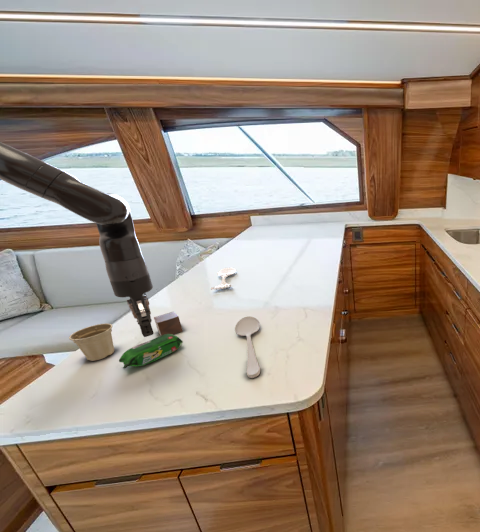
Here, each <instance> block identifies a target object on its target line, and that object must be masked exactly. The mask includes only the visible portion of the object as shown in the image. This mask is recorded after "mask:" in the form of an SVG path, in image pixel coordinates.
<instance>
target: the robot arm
mask: <svg viewBox="0 0 480 532" xmlns="http://www.w3.org/2000/svg"><path fill="white" fill-rule="evenodd" d="M0 180H1V181H3V182H5V183H7V184H8V185H11V186H13V187H16V188H18V189H20V190H23V191H25V192H27V193H30V194H32V195H35V196H36V197H39V198H41V199H43V200H47V201H49V202H52V203H55V204H57V205H59V206H60V207H62V208H64V209H66V210H68V211H70V212H71V213H74V214H75V215H77V216H79V217H81V218H83V219H85V220H88V221H90V222H92V223H95V225H96V228H97V231H98V234H99V240H98V244H99V248H100V251H101V255H102V258H103V260H104V264H105V271H106V274H107V276H108V280H109V282H110V286H111V289H112V291H113V294H114V296H115V297H117V298H129V299H126V303H127V306H128V308H129V310H130V311H131V314H132V316H133V318H134V319H135V320H136V323H137V325H138V326H139V328H140V331H141V335H142V336H143V337H144V338H147V337H151V336H153V335H154V330H153V326H152V321H153V320H152V317H151V315H152V312H151V309H150V301H149V298H148V297H147V295H144V294H145V293H149V292H151V290H153V289H154V286H153V282H152V279H151V275H150V273H149V269H148V265H147V262H146V261H145V258H144V256H143V253H142V250H141V246H140V244H139V240H138V239H137V236H136V231H135V225H134V219H133V216H132V212H131V208H130V205H129V203H128V202H127V201H126V200H125V199H124V198H123V197H122V196H120V195H118V194H114V193H109V192H108V193H107V192H103V191H101V190H99V189H97V188H96V187H93V186H91V185H89V184H86V183H84V182H83V181H81V180H80V179H79V178H77V177H76V176H75V175H73V174H70V173H69V172H67V171H65V170H63V169H61V168H59V167H56V166H54V165H52V164H50V163H48V162H47V161H45V160H42V159H40V158H38V157H36V156H33V155H31V154H29V153H27V152H25V151H22V150H20V149H18V148H15V147H13V146H12V145H11V146H10V145H9V144H7V143H4V142H1V141H0Z"/></svg>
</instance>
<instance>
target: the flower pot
mask: <svg viewBox="0 0 480 532" xmlns="http://www.w3.org/2000/svg"><path fill="white" fill-rule="evenodd" d="M112 328H113V324H111V323H97V324H93V325H90V326H86V327H84V328H81V329H79V330H76V331H75V332H72V334H70V335H69V337H68V339H69V340H70V341H72V342H73V343H74V344H76V346H77V348H79V350H80V351H81V352H82V354H83V355H84V357H85V358H86V360H87V361H91V362H95V361H99V360H103V359H105V358H106V357H108V356H111V355H112V354H114V353H115V346H114V341H113V334H112V332H113V329H112Z"/></svg>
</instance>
